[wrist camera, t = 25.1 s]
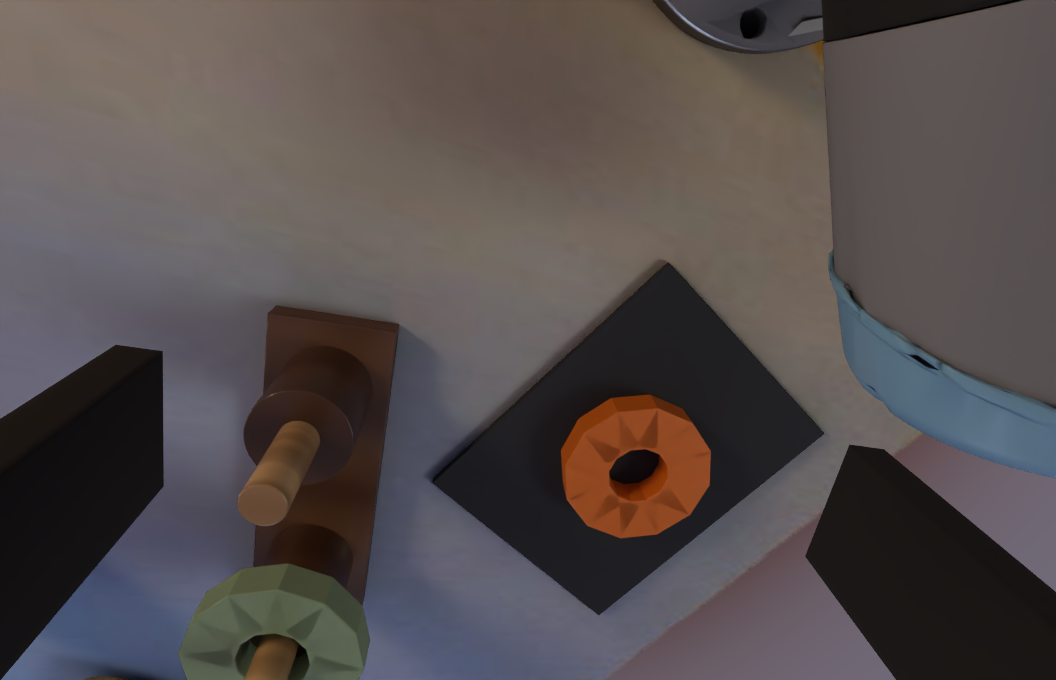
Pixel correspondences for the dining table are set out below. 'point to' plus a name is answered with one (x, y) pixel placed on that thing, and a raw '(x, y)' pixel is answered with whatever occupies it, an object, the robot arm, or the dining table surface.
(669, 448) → the orange disc
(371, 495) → the peg rack
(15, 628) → the robot arm
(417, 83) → the dining table surface
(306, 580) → the green disc
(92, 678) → the croissant
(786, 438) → the mat
